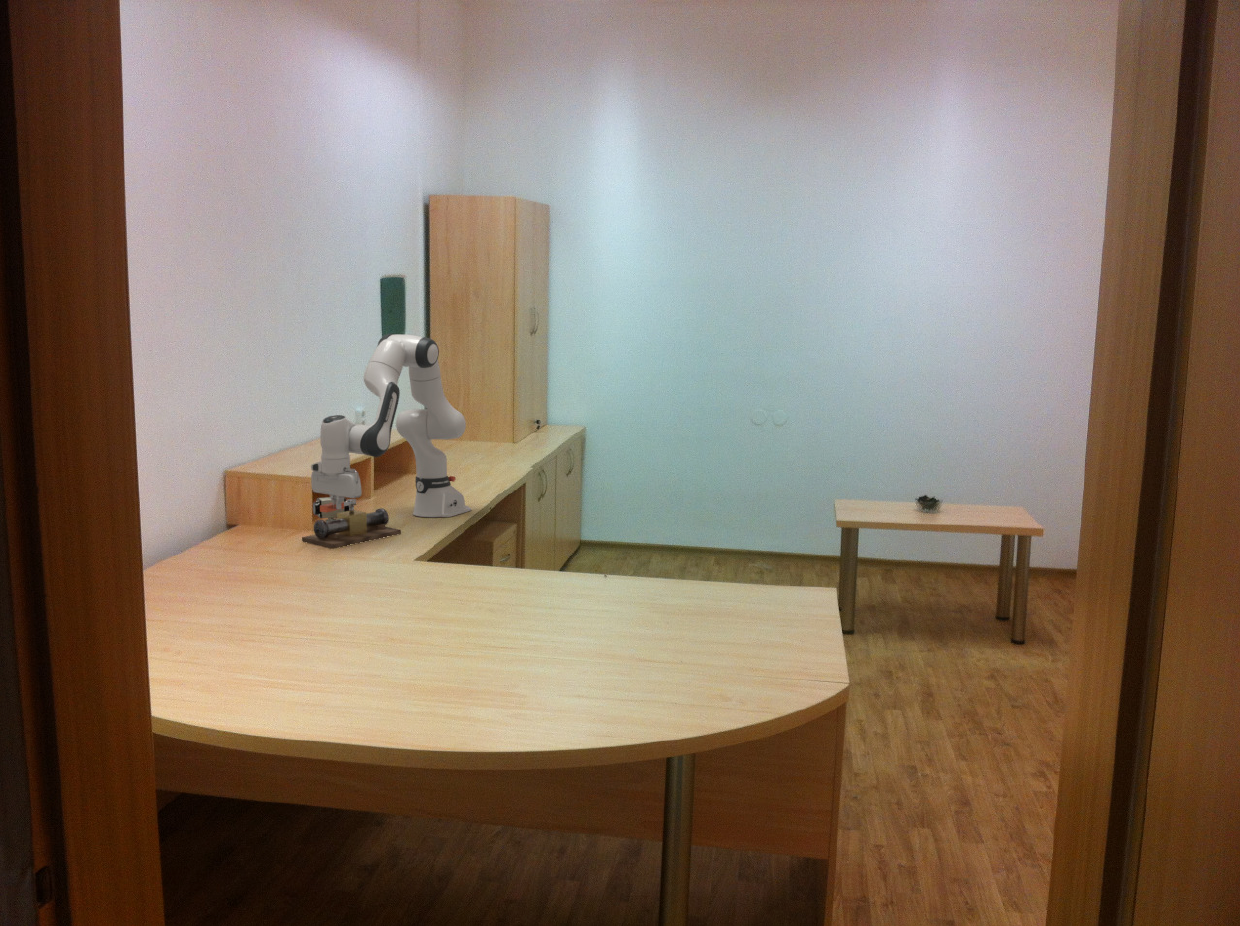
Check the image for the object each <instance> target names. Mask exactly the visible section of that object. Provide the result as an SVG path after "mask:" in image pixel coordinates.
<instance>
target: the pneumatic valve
mask: <svg viewBox="0 0 1240 926" xmlns="http://www.w3.org/2000/svg"><path fill="white" fill-rule="evenodd" d="M347 500H348V499H347V497H344V499H343V501H342V502H346V501H347ZM329 503H332V501H331V499H330V496H329V497H318V498H317V497H316V501H314V502H313V503H312V510H313V511H312V512H313V515H314V516H317V517H318V518H319V519H325V520H324V521H331V520H336V519H337V513H340V512H346V511H349V506H344V508H343V509H339V510H335V511H331V512H327V513H326V512H320V505H324V504H329Z"/></svg>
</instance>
